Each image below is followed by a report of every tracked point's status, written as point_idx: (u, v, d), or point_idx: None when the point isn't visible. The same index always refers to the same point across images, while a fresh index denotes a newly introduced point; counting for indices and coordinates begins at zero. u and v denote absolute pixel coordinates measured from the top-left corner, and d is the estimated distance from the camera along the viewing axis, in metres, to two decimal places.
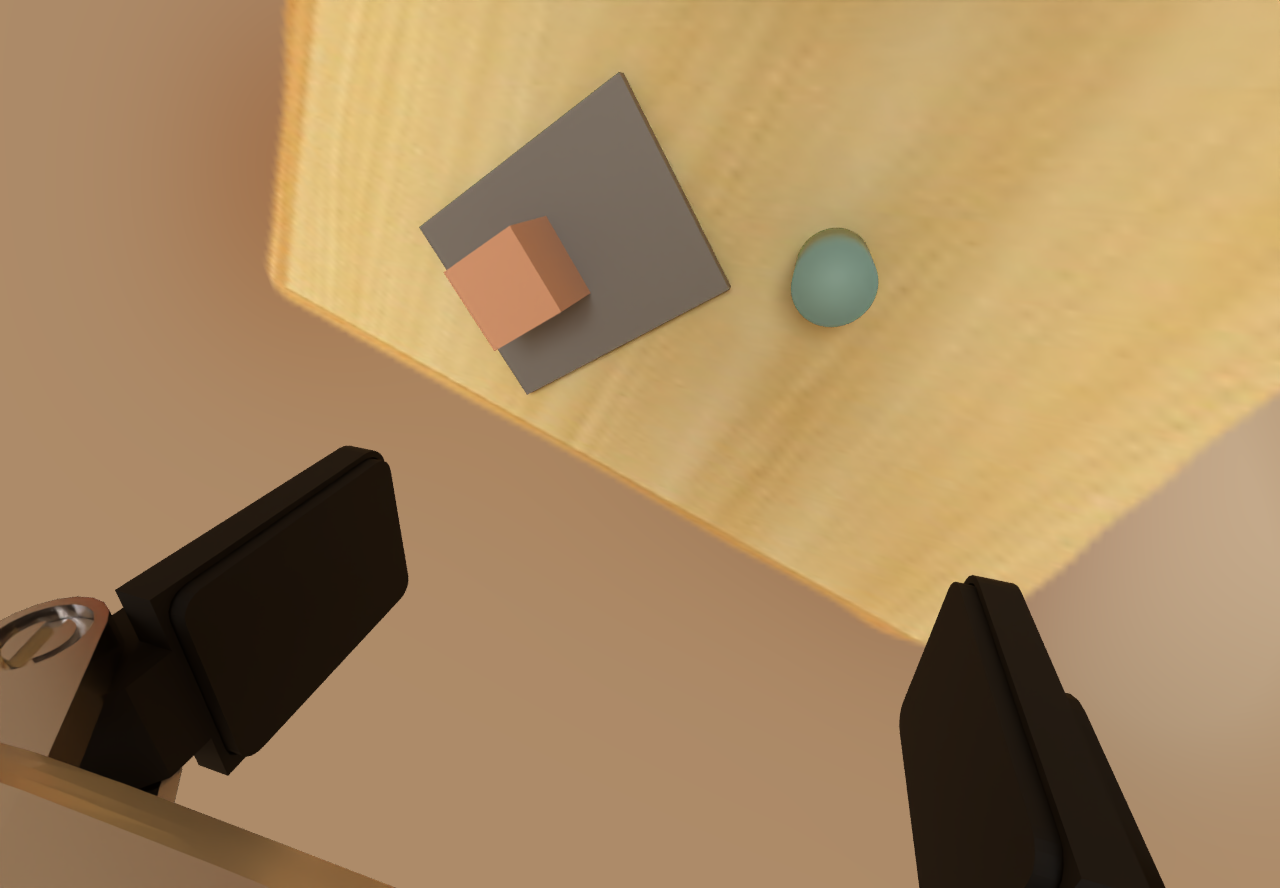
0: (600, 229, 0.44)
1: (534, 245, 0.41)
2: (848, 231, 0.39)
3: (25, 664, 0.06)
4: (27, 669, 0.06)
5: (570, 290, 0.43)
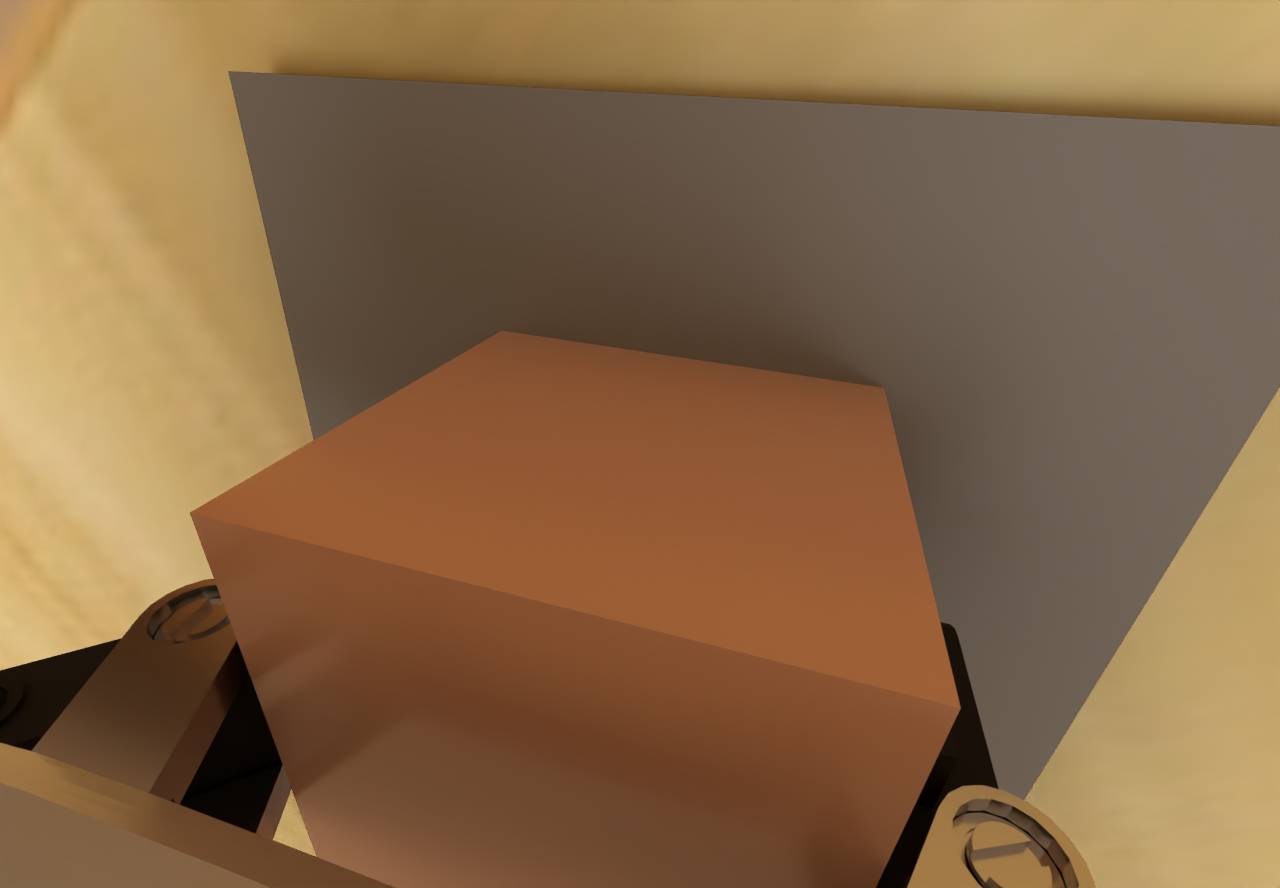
0: None
1: None
2: None
3: (183, 639, 0.07)
4: (182, 646, 0.06)
5: None
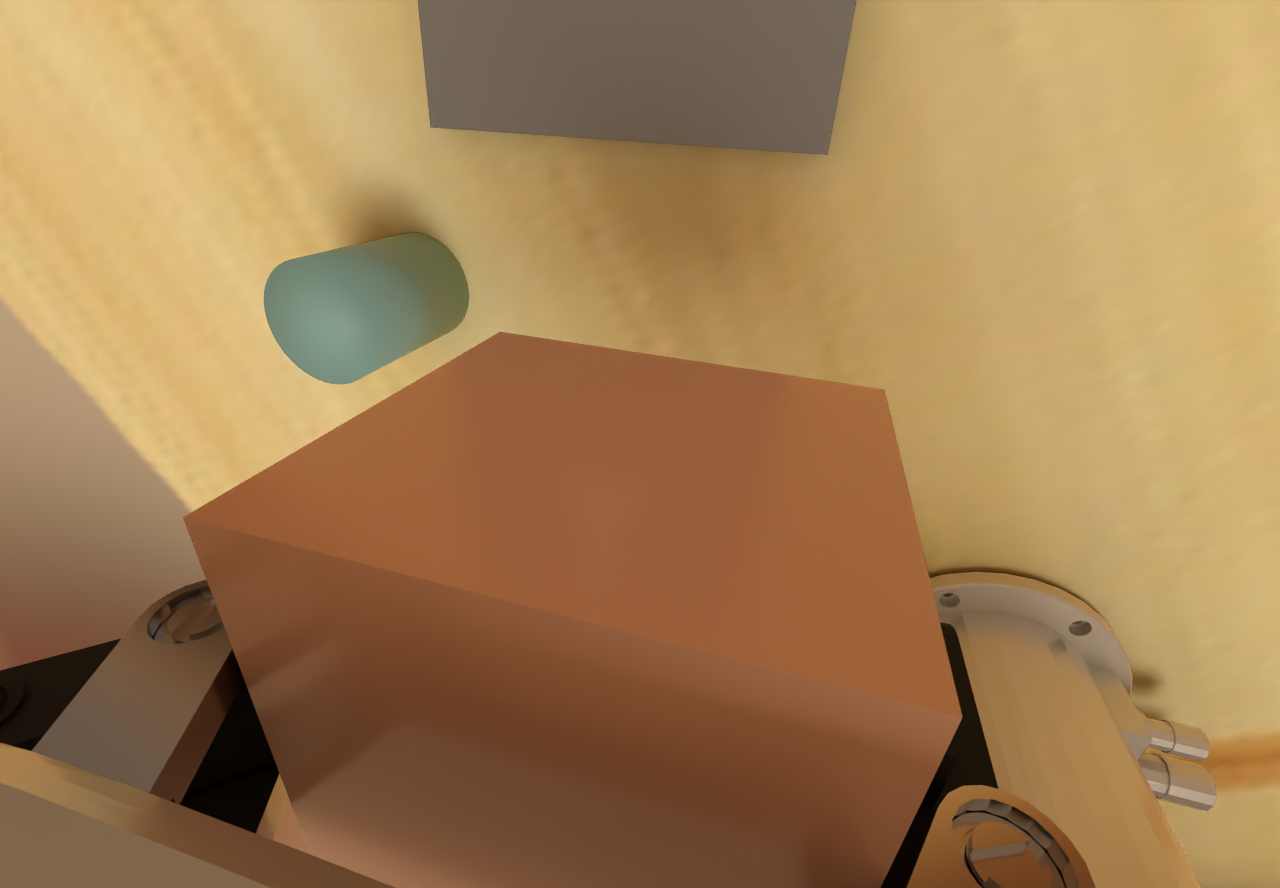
0: None
1: None
2: (447, 331, 0.29)
3: (184, 639, 0.07)
4: (183, 646, 0.06)
5: None
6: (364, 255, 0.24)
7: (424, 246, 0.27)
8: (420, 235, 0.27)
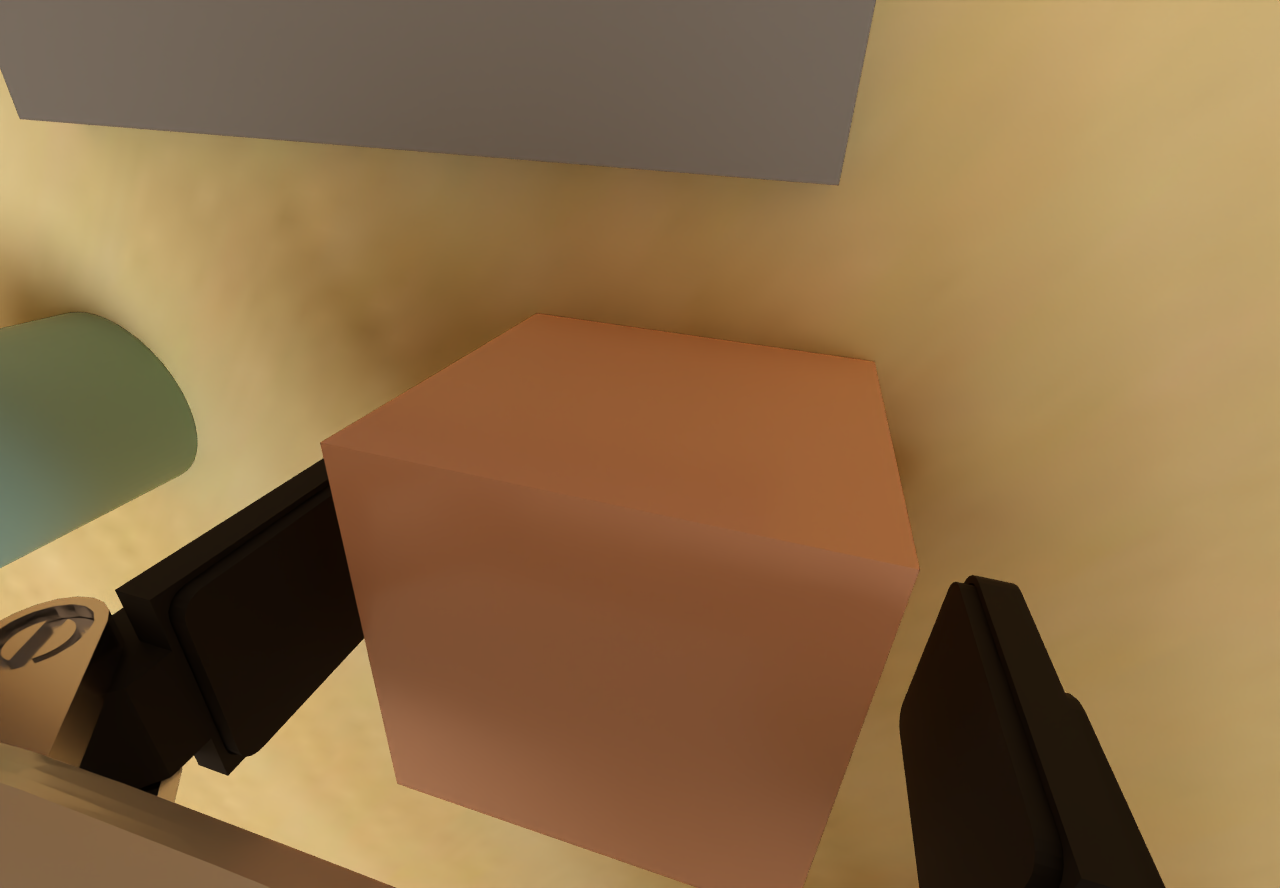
0: None
1: None
2: (157, 484, 0.16)
3: (25, 665, 0.06)
4: (27, 670, 0.06)
5: None
6: None
7: (74, 345, 0.14)
8: (86, 319, 0.15)
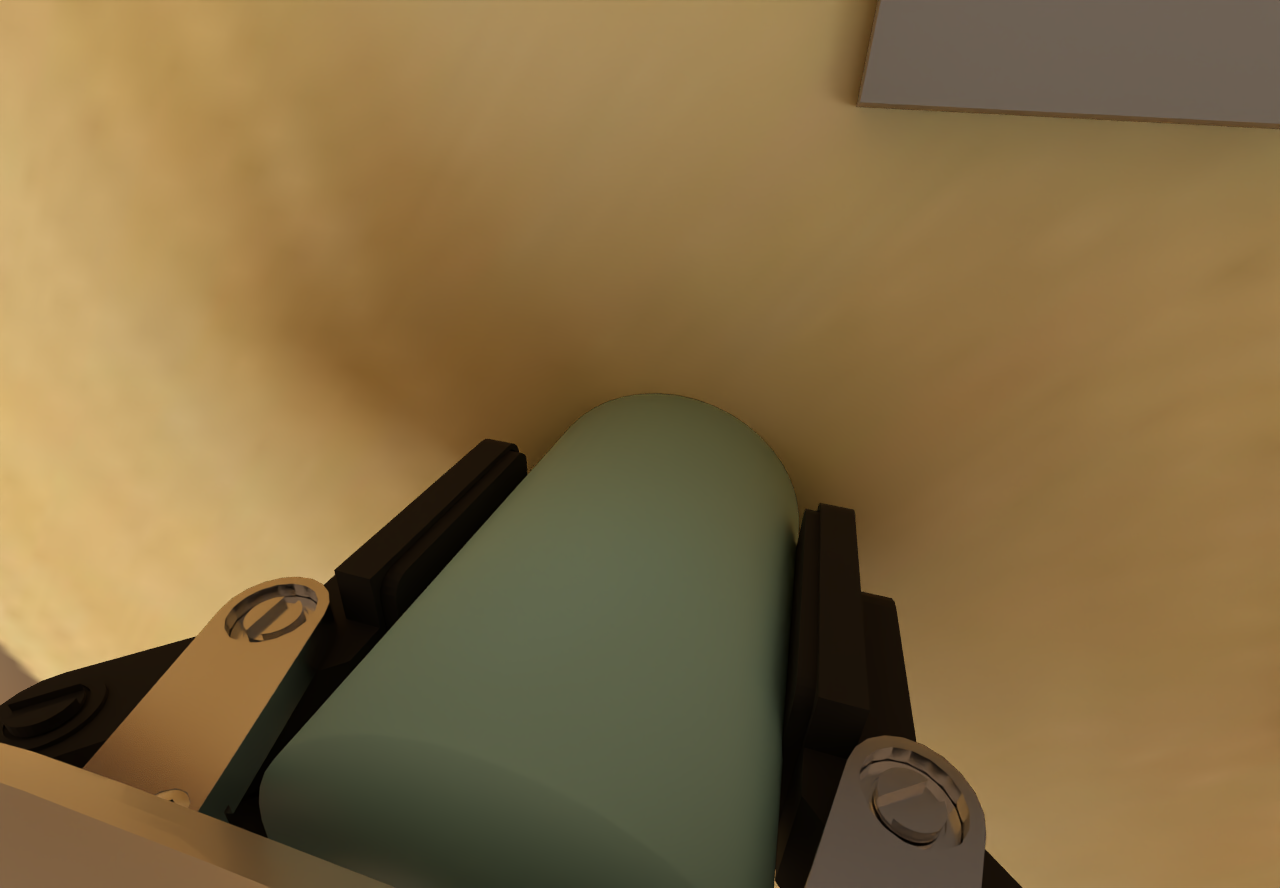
0: None
1: None
2: None
3: (257, 637, 0.07)
4: (255, 645, 0.06)
5: None
6: (652, 597, 0.06)
7: (735, 456, 0.09)
8: (696, 408, 0.10)
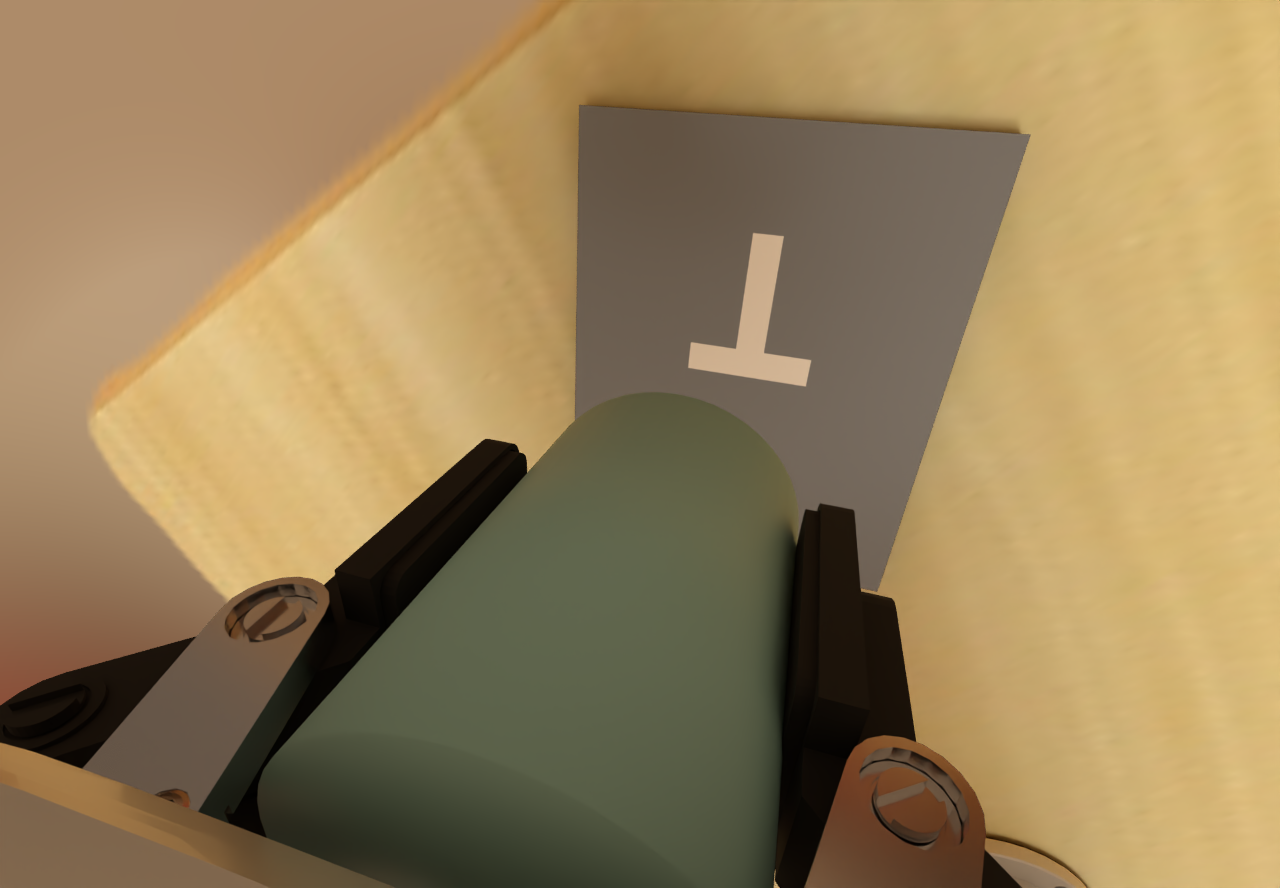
0: None
1: None
2: None
3: (257, 637, 0.07)
4: (254, 645, 0.06)
5: None
6: (652, 596, 0.06)
7: (734, 455, 0.09)
8: (696, 406, 0.10)
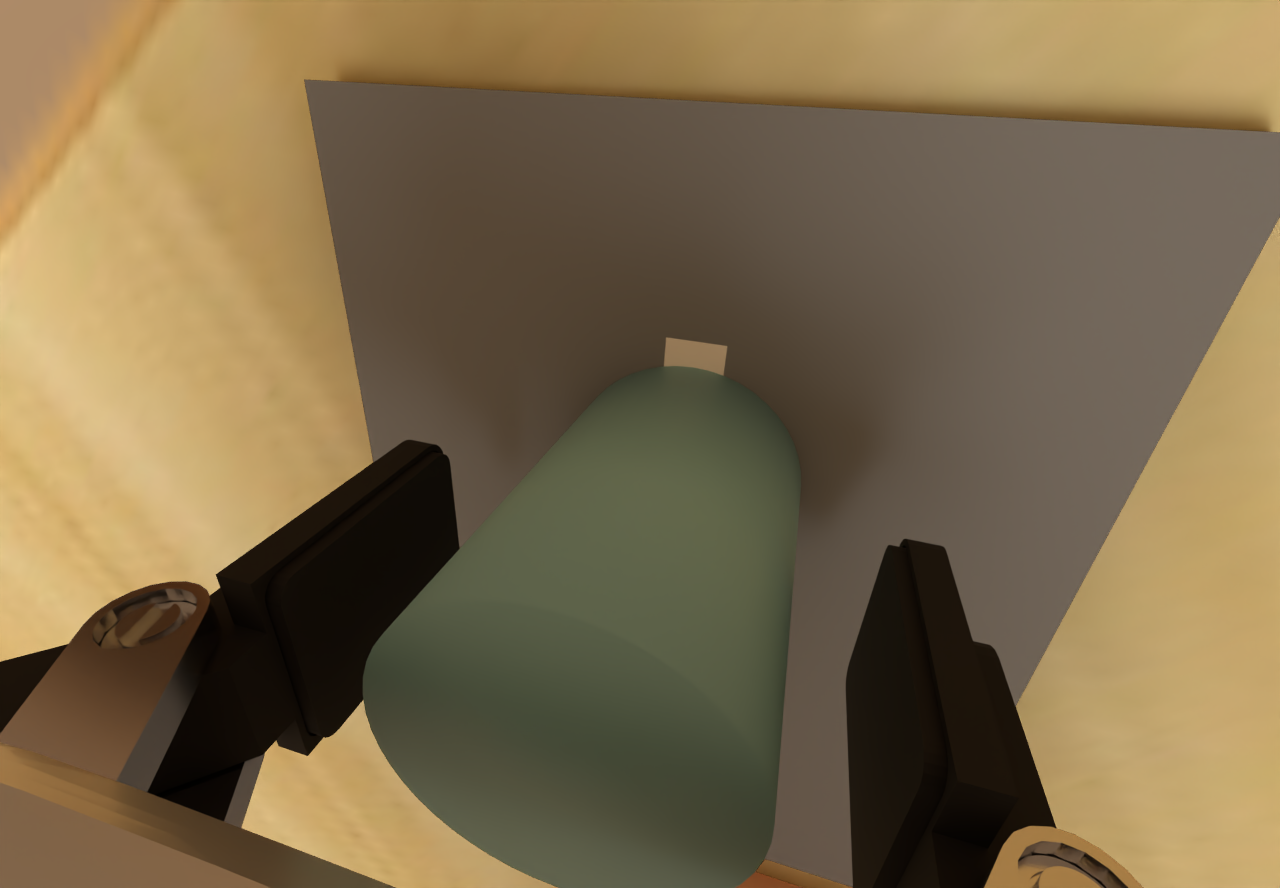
0: None
1: None
2: None
3: (133, 644, 0.07)
4: (133, 650, 0.06)
5: None
6: (681, 516, 0.07)
7: (745, 418, 0.10)
8: (711, 378, 0.11)
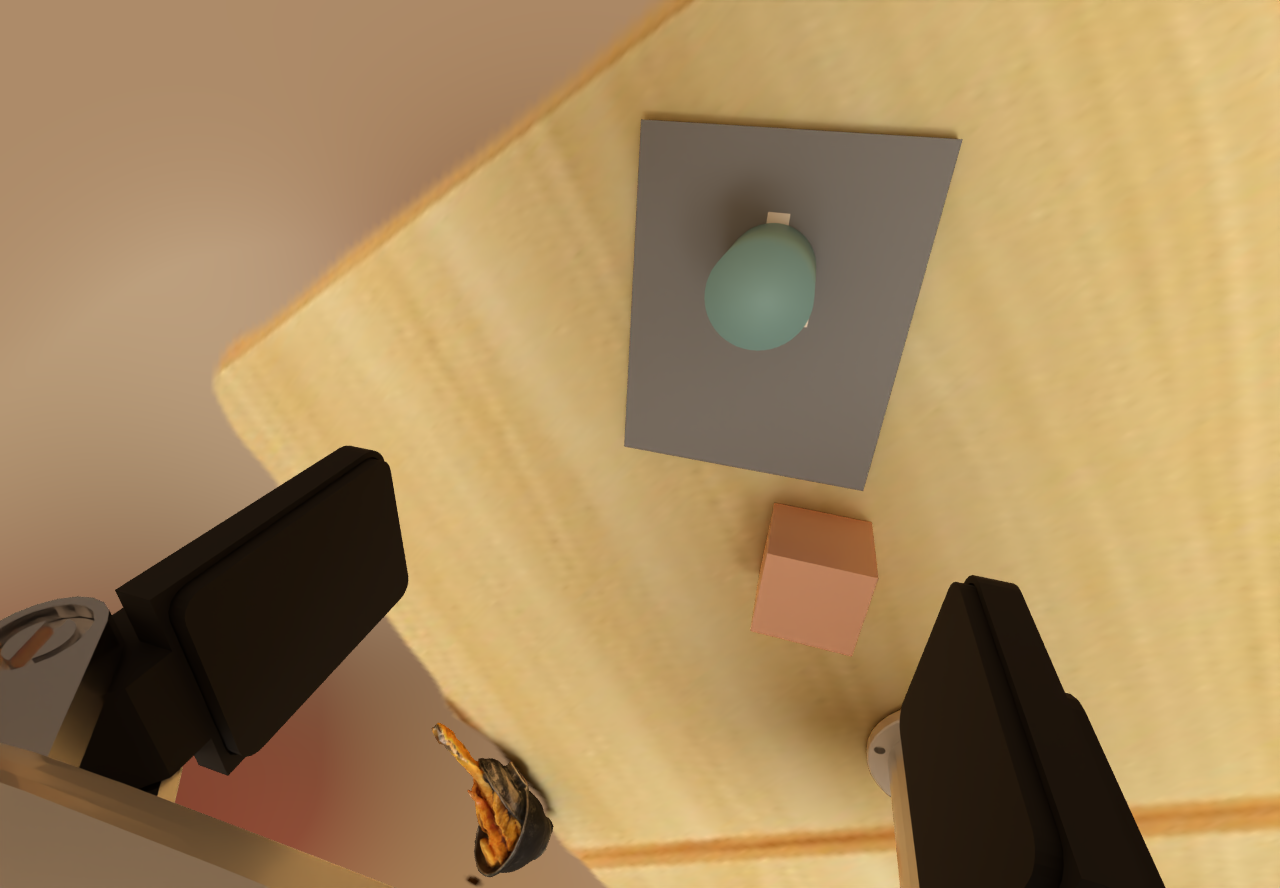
0: (758, 378, 0.36)
1: None
2: None
3: (25, 664, 0.06)
4: (27, 670, 0.06)
5: None
6: (787, 240, 0.28)
7: (798, 234, 0.31)
8: (784, 225, 0.32)
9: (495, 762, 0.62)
